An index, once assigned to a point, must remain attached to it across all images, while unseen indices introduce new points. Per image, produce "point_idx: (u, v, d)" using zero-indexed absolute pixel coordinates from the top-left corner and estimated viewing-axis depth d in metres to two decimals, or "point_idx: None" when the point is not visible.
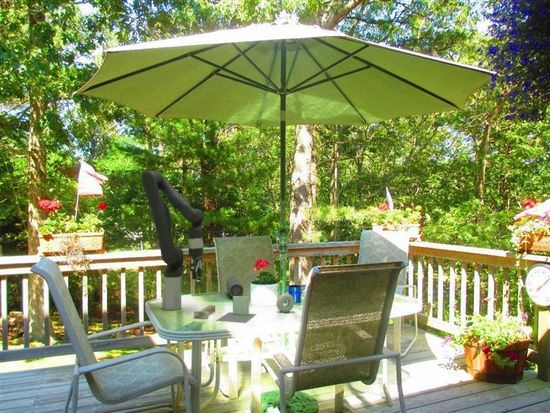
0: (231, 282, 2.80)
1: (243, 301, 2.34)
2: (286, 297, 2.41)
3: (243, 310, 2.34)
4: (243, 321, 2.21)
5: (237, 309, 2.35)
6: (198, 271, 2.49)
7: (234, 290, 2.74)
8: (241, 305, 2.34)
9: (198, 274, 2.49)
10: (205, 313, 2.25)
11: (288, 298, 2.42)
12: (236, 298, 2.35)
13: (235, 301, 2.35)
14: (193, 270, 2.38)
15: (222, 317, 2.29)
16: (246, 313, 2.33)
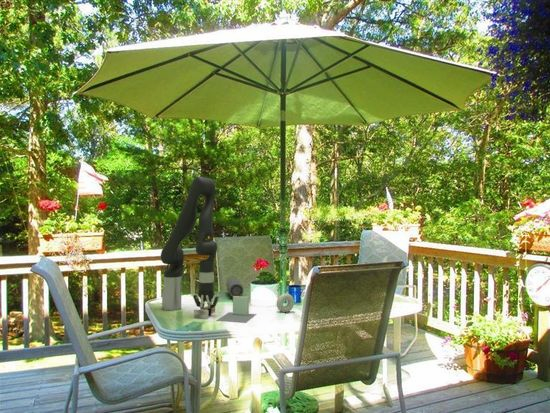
0: (231, 282, 2.80)
1: (243, 301, 2.34)
2: (286, 297, 2.41)
3: (243, 310, 2.34)
4: (243, 321, 2.21)
5: (237, 309, 2.35)
6: None
7: (234, 290, 2.74)
8: (241, 305, 2.34)
9: None
10: (205, 312, 2.25)
11: (288, 298, 2.42)
12: (236, 298, 2.35)
13: (235, 301, 2.35)
14: None
15: (222, 317, 2.29)
16: (246, 313, 2.33)
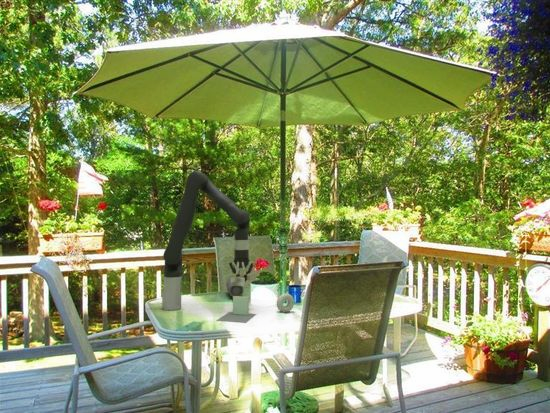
0: None
1: (243, 301, 2.34)
2: (286, 297, 2.41)
3: (243, 310, 2.34)
4: (243, 321, 2.21)
5: (237, 309, 2.35)
6: None
7: (234, 290, 2.74)
8: (241, 305, 2.34)
9: None
10: (242, 279, 2.36)
11: (288, 298, 2.42)
12: (236, 298, 2.35)
13: (235, 301, 2.35)
14: (250, 272, 2.43)
15: (222, 317, 2.29)
16: (246, 313, 2.33)
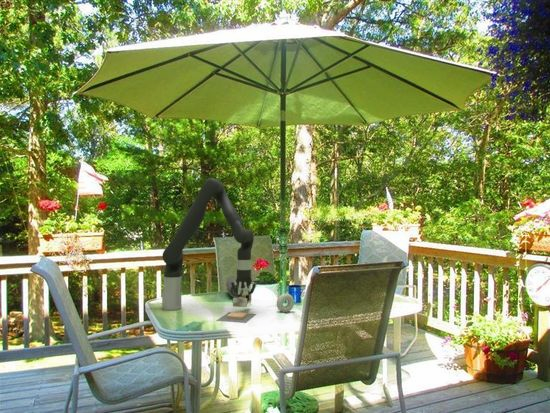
0: None
1: None
2: (286, 297, 2.41)
3: None
4: (243, 321, 2.21)
5: None
6: (240, 296, 2.40)
7: None
8: None
9: None
10: (244, 300, 2.32)
11: (288, 298, 2.42)
12: None
13: None
14: (252, 292, 2.39)
15: (222, 317, 2.29)
16: None
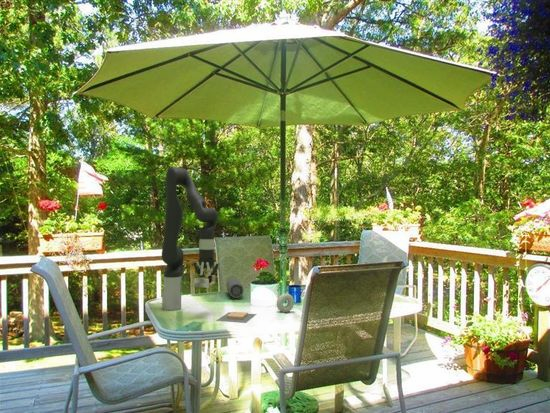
0: (231, 282, 2.80)
1: None
2: (286, 297, 2.41)
3: None
4: (243, 321, 2.21)
5: None
6: None
7: (234, 290, 2.74)
8: None
9: None
10: (205, 280, 2.25)
11: (288, 298, 2.42)
12: None
13: None
14: (215, 273, 2.32)
15: (222, 317, 2.29)
16: None
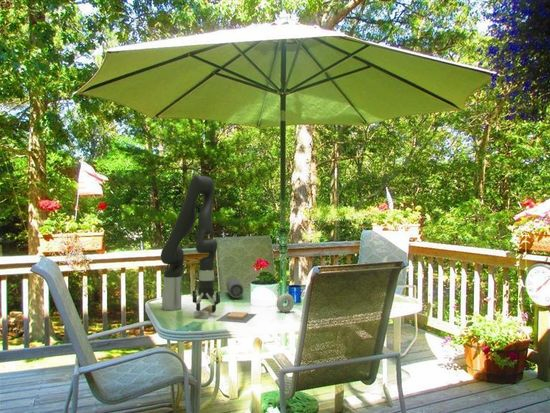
0: (231, 282, 2.80)
1: None
2: (286, 297, 2.41)
3: None
4: (243, 321, 2.21)
5: None
6: (199, 305, 2.33)
7: (234, 290, 2.74)
8: None
9: (199, 309, 2.33)
10: (205, 313, 2.25)
11: (288, 298, 2.42)
12: None
13: None
14: (219, 302, 2.31)
15: (222, 317, 2.29)
16: None
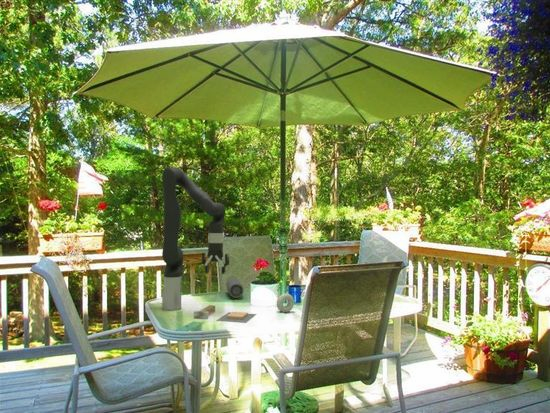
0: (231, 282, 2.80)
1: None
2: (286, 297, 2.41)
3: None
4: (243, 321, 2.21)
5: None
6: (207, 267, 2.40)
7: (234, 290, 2.74)
8: None
9: (207, 270, 2.40)
10: (205, 313, 2.25)
11: (288, 298, 2.42)
12: None
13: None
14: (228, 264, 2.37)
15: (222, 317, 2.29)
16: None
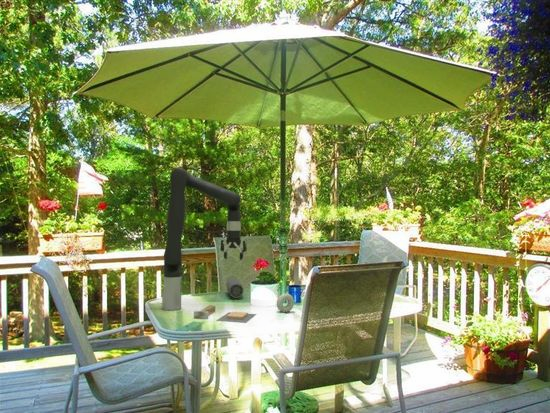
0: (231, 282, 2.80)
1: None
2: (286, 297, 2.41)
3: None
4: (243, 321, 2.21)
5: None
6: (226, 253, 2.54)
7: (234, 290, 2.74)
8: None
9: (226, 256, 2.54)
10: (205, 313, 2.25)
11: (288, 298, 2.42)
12: None
13: None
14: (246, 250, 2.53)
15: (222, 317, 2.29)
16: None
